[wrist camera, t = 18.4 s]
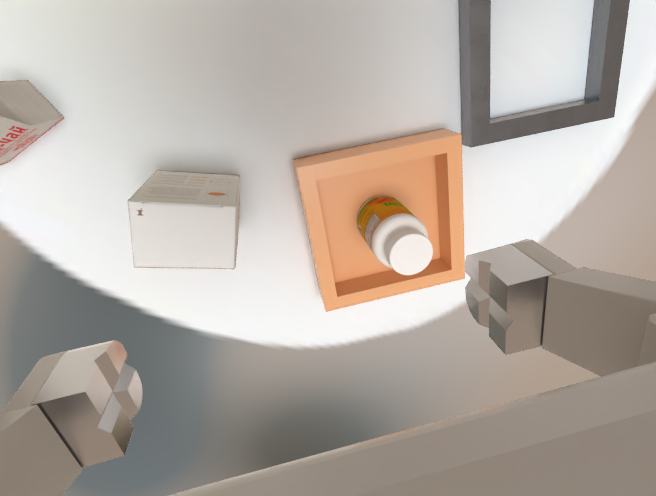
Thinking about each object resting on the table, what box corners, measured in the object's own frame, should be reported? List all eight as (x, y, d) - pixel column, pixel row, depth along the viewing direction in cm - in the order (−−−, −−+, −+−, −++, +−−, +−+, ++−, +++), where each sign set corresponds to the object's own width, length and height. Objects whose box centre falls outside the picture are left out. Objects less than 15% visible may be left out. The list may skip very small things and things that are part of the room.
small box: (159, 223, 41) (130, 269, 31) (156, 168, 38) (124, 200, 29) (239, 226, 42) (235, 271, 33) (241, 174, 40) (237, 206, 31)
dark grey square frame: (458, -35, 36) (468, -40, 34) (620, -63, 37) (638, -69, 35) (462, 144, 43) (471, 147, 41) (599, 115, 44) (614, 117, 42)
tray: (293, 159, 40) (296, 168, 37) (443, 128, 42) (461, 134, 38) (320, 293, 47) (325, 311, 43) (449, 263, 48) (464, 278, 45)
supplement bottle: (411, 203, 43) (452, 237, 35) (390, 247, 45) (424, 289, 36) (368, 187, 42) (398, 217, 33) (347, 232, 43) (371, 273, 35)
